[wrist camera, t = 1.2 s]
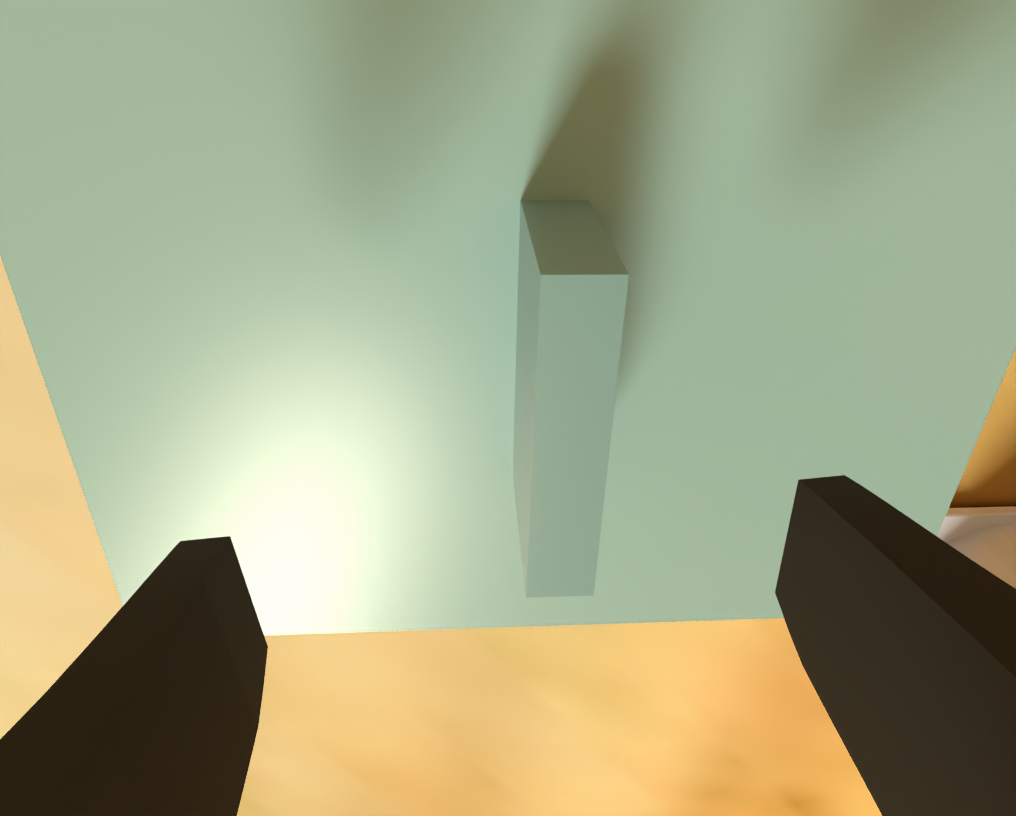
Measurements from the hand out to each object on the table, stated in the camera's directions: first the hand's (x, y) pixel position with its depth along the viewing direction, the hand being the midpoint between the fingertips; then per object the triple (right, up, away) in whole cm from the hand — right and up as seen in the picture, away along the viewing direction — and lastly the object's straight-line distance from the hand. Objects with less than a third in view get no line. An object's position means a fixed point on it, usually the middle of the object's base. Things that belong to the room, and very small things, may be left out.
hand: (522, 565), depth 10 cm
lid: (0, +4, +6) cm, 8 cm away
